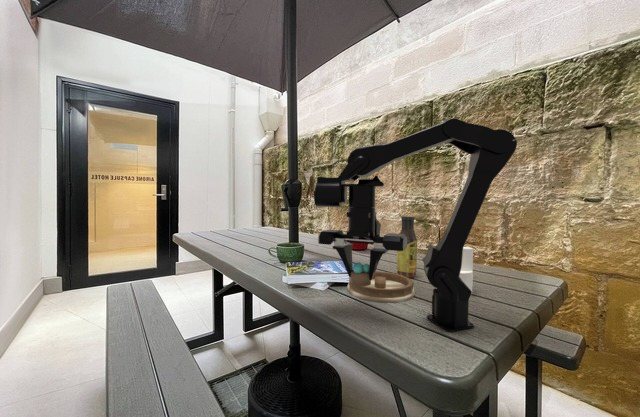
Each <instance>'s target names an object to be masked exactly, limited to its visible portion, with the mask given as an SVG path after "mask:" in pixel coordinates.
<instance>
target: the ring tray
mask: <svg viewBox="0 0 640 417" xmlns="http://www.w3.org/2000/svg"><path fill="white" fill-rule="evenodd" d="M348 279H349V280H348V281H349V282H348V284H347V292H348V293H349V294H350V295H352V296H354V297H355V298H358V299H361V300H364V301H369V302H373V303H384V304H385V303H386V304H387V303H402V302H406V301H409V300H411V299H413V298H414V297H415V288H414V282H413V281H412V278H407V277H405V276H403V275H399V274H397V273H393V272H387V271H375V274H374V277H373V279H372V280H371V284H370V285H368V286H356V285H353V284H351V277H349V276H348Z"/></svg>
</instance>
